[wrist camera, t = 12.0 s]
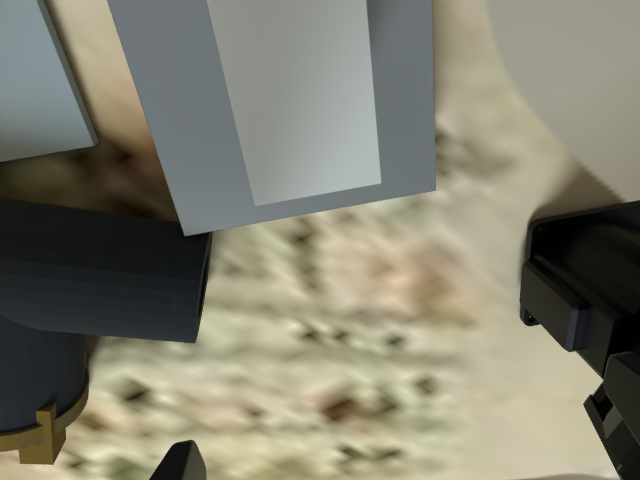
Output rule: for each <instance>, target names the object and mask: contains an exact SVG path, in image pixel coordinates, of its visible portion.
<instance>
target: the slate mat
mask: <svg viewBox="0 0 640 480" xmlns="http://www.w3.org/2000/svg"><path fill="white" fill-rule="evenodd" d="M98 143H99V140H98V138H97V135H96V133H95V130H94V127H93V125H92V122H91V120H90V117H89V115H88V112H87V109H86V107H85V104H84V102H83V99H82V97H81V94H80V91H79V89H78V86H77V84H76V81H75V79H74V76H73V73H72V71H71V68H70V66H69V63H68V61H67V58H66V55H65V53H64V50H63V48H62V45H61V43H60V40H59V38H58V35H57V32H56V30H55V27H54V25H53V22H52V20H51V17H50V14H49V12H48V9H47V7H46V4H45V2H44V0H0V162H3V161H9V160H15V159H21V158H27V157H32V156H38V155H44V154H50V153H56V152H61V151H67V150H73V149H79V148H85V147H91V146H95V145H96V144H98Z"/></svg>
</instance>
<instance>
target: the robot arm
mask: <svg viewBox="0 0 640 480" xmlns="http://www.w3.org/2000/svg"><path fill="white" fill-rule="evenodd" d="M541 227H542V229H541V230H540V231H539V232H537V231H538V229H539V228H541ZM520 303H521V310H520V319H521V320H522V321H523V323H524V324H525V325H527V326H534V325H539V324H541V325H542V326H543V327H544V328H545V329H546V330H547V331H548V332H549V334H550V335H551V336H552V337H553V338H554V339H555V340H556V341H557V342H558V343H559V344H560V345H561V346H562V347H563V348H564V349H565V350H567V351H568V352H573V351H576V352H577V353H578V354H579V355H580V356H581V357H582V358H583V359H584V360H585V361H586V362H587V363H588V365H589V366H590V367H591V368H592V369H593V370H594V371H595V372H596V373H597V374H598V375H599V376H600V377H601V378H602V379H603V382H602V383H601V384H600V386H599V387H598V389H597V390H596V391H595V393H594V394H593V395H589V397H588V398H587V399H586V401H585V402H584V403H583V405H584V407H585V409H586V411H587V413H588V415H589V417H590V419H591V421H592V423H593V425H594V427H595V429H596V431H597V433H598V435H599V437H600V439H601V441H602V443H603V445H604V447H605V449H606V451H607V453H608V455H609V457H610V459H611V461H612V463H613V465H614V467H615V469H616V471H617V473H618V475H619V477H620V479H621V480H640V200H639V201H633V202H628V203H623V204H617V205H612V206H606V207H601V208H596V209H590V210H585V211H580V212H574V213H569V214H564V215H558V216H553V217H548V218H542V219H538V220H535V221H533V222H532V223H531V224H530V225H529V227H528V232H527V243H526V255H525V262H524V264H523V268H522V280H521V291H520ZM530 316H531V317H530ZM529 317H530V318H529ZM149 480H206V467H205V463H204V461H203V458H202V456H201V454H200V451H199V449H198V447H197V444H196V443H195V441H193V440H187V441H182V442H177V443H175V444H174V445H172V446H171V448H170V449H169V451H168V452H167V454H166V455H165V457H164V458H163V460H162V461H161V463H160V464H159V466H158V467H157V469H156V470H155V472H154V473H153V475H152V476H151V478H150V479H149Z"/></svg>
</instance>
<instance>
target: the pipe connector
mask: <svg viewBox="0 0 640 480" xmlns="http://www.w3.org/2000/svg"><path fill="white" fill-rule="evenodd" d="M211 244H212V231H211V232H205V233H200V234H194V235H189V236H184V233H183V230H182V227H181V224H180V223H177V222H170V221H162V220H155V219H148V218H141V217H134V216H127V215H119V214H112V213H105V212H98V211H91V210H83V209H76V208H69V207H62V206H55V205H48V204H40V203H33V202H26V201H19V200H12V199H5V198H0V452H3V451H11V450H17V449H19V457H20V464H50V465H53V464H54V462H55V460H56V458H57V456H58V454H59V452H60V450H61V448H62V446H63V444H64V442H65V440H66V430H65V428H66V427H68V426H69V425H70V424H71V423H72V422H73V421H74V420H75V419H76V418H77V417H78V416H79V415H80V414H81V412H82V410H83V409H84V407H85V405H86V403H87V400H88V393H89V376H88V372H87V366H86V349H84V334H92V335H104V336H115V337H127V338H139V339H150V340H162V341H174V342H185V343H195V342H196V339H197V335H198V331H199V326H200V321H201V316H202V310H203V305H204V298H205V292H206V286H207V278H208V270H209V261H210V252H211Z"/></svg>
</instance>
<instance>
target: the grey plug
mask: <svg viewBox="0 0 640 480" xmlns="http://www.w3.org/2000/svg"><path fill="white" fill-rule="evenodd" d="M207 4H208V8H209V13H210V17H211V21H212V25H213V30H214V34H215V38H216V42H217V47H218V51H219V55H220V60H221V64H222V68H223V72H224V77H225V81H226V85H227V89H228V94H229V98H230V102H231V106H232V111H233V115H234V119H235V123H236V128H237V132H238V136H239V141H240V145H241V149H242V153H243V158H244V162H245V166H246V170H247V175H248V179H249V183H250V187H251V192H252V196H253V200H254V204H255V206H259V205H264V204H270V203H275V202H281V201H286V200H292V199H298V198H303V197H309V196H314V195H320V194H325V193H331V192H336V191H342V190H347V189H353V188H358V187H364V186H369V185H375V184H380V183H381V173H380V161H379V149H378V137H377V125H376V113H375V101H374V89H373V76H372V64H371V52H370V40H369V28H368V16H367V4H366V0H207Z"/></svg>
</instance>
